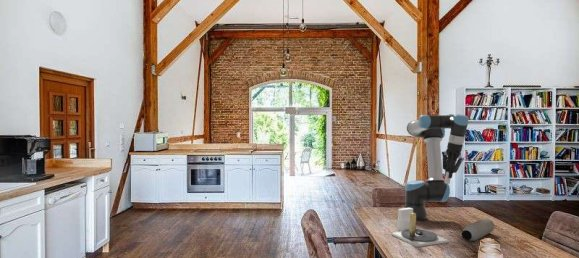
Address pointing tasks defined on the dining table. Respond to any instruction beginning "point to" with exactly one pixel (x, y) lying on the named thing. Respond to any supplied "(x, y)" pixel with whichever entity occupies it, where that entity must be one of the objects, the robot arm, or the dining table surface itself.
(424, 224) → the dining table surface
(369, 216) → the dining table surface
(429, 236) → the cam dial
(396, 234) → the base plate
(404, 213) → the cylinder with rectangular tab
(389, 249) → the dining table surface
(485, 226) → the thermos bottle
